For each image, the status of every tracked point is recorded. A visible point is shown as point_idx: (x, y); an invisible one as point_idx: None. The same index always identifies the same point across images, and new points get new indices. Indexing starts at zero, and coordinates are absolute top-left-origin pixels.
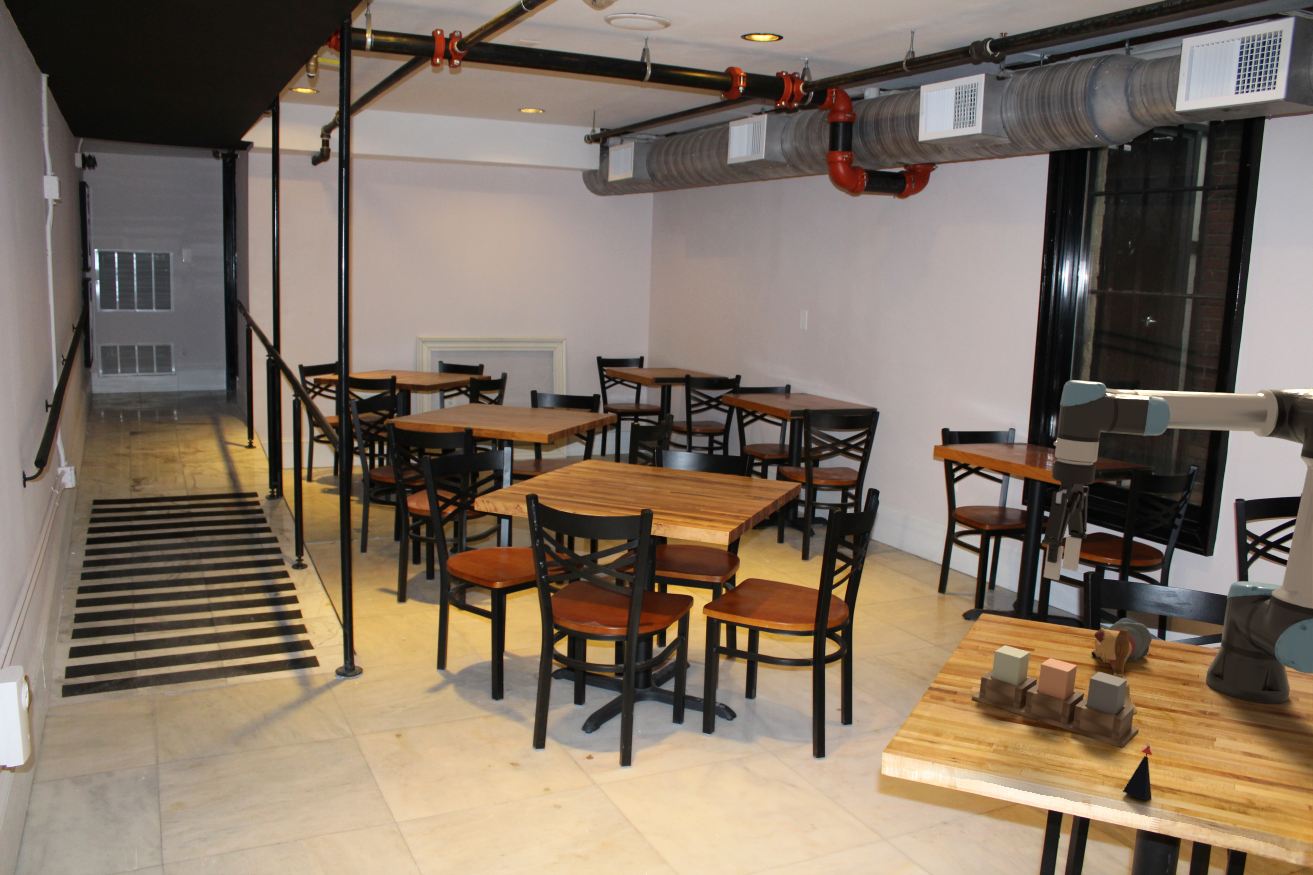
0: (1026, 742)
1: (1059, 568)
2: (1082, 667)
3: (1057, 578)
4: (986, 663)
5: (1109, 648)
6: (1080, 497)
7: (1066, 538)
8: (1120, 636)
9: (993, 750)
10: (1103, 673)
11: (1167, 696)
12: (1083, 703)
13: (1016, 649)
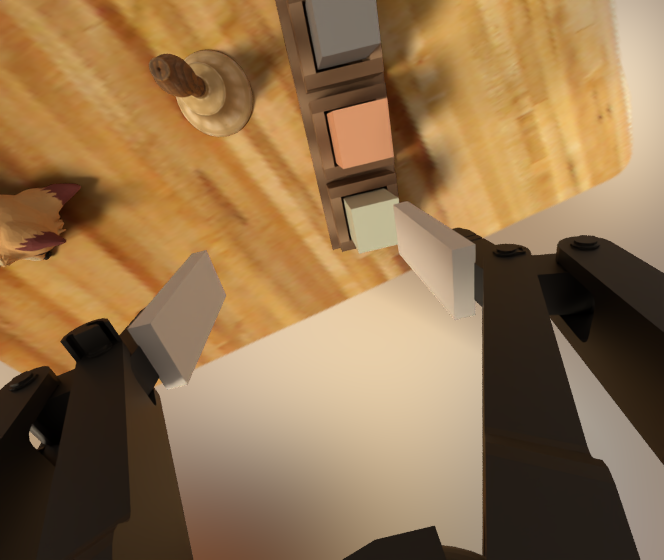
0: (479, 90)
1: (421, 212)
2: (116, 232)
3: (408, 204)
4: (265, 303)
5: (41, 219)
6: None
7: (190, 374)
8: (180, 73)
9: (540, 101)
10: (323, 42)
11: (52, 62)
12: (360, 68)
13: (360, 230)
